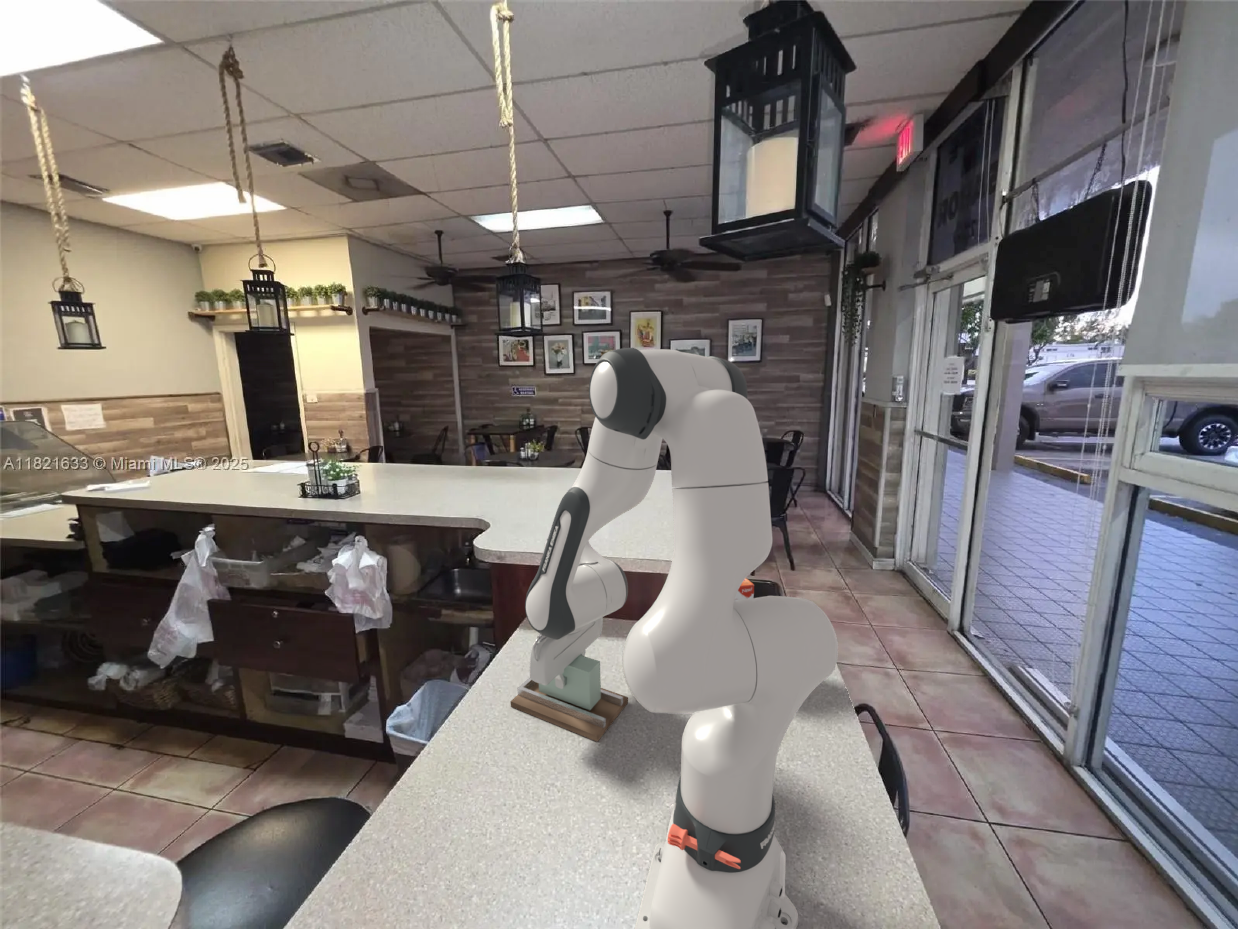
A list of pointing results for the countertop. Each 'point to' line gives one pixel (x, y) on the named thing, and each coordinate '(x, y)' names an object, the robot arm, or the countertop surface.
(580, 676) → the mint green rectangular block
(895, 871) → the countertop surface
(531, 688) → the track board
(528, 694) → the track rails
